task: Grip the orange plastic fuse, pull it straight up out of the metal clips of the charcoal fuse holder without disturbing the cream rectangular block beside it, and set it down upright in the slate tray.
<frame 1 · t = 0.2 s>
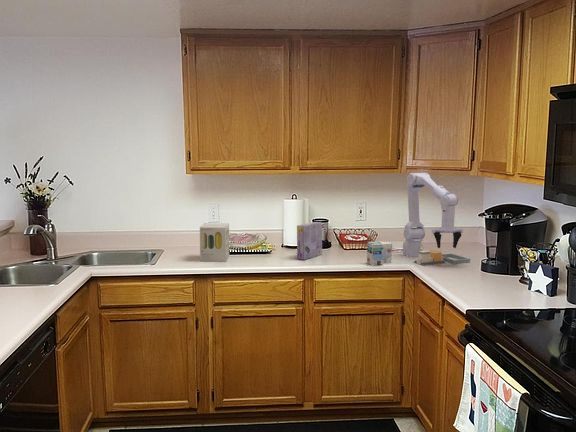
hand: (446, 247, 266), 10 cm above the worktop, tool pointing down, fingers open, 7 cm apart
supplement box: (215, 259, 283), on the worktop
light bulb box: (379, 264, 274), on the worktop
slate tray: (452, 262, 279), on the worktop
cake pan box: (310, 257, 290), on the worktop
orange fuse: (435, 262, 274), point 1 cm above the worktop, touching fuse holder
cream rectangular block: (423, 263, 271), point 1 cm above the worktop, touching fuse holder
fuse holder: (429, 264, 273), on the worktop
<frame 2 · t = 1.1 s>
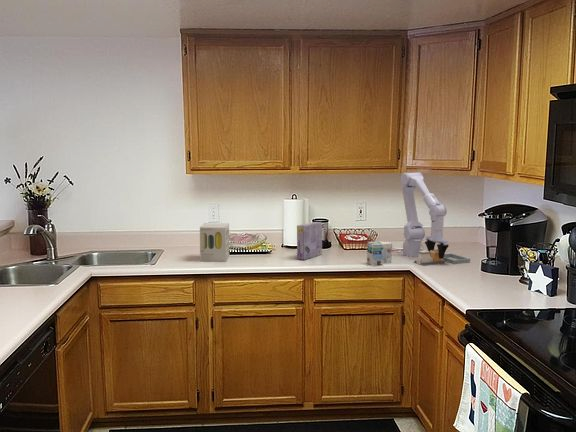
hand: (436, 256, 274), 4 cm above the worktop, tool pointing down, fingers open, 7 cm apart
nothing on the worktop moved.
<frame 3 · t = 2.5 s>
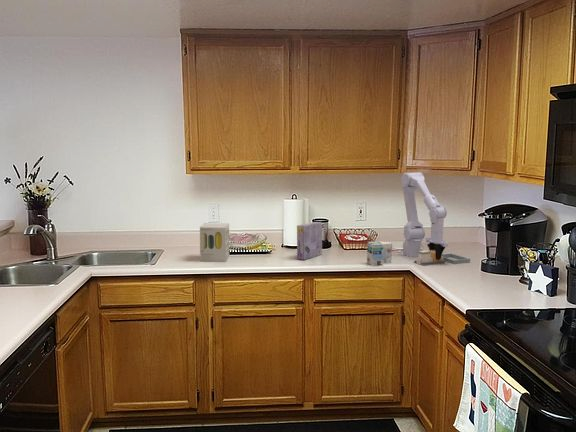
hand: (435, 258, 274), 3 cm above the worktop, tool pointing down, fingers closed on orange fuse, 3 cm apart
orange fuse: (435, 262, 274), point 1 cm above the worktop, touching fuse holder, gripper
everything else where it was.
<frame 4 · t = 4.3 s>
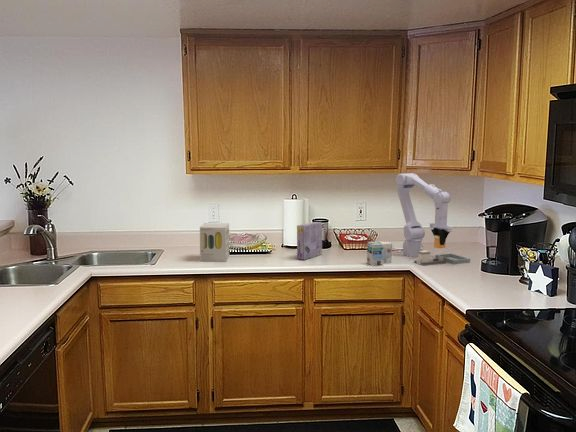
hand: (439, 244, 274), 10 cm above the worktop, tool pointing down, fingers closed on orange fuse, 3 cm apart
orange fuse: (439, 247, 274), point 8 cm above the worktop, touching gripper
everything else where it was.
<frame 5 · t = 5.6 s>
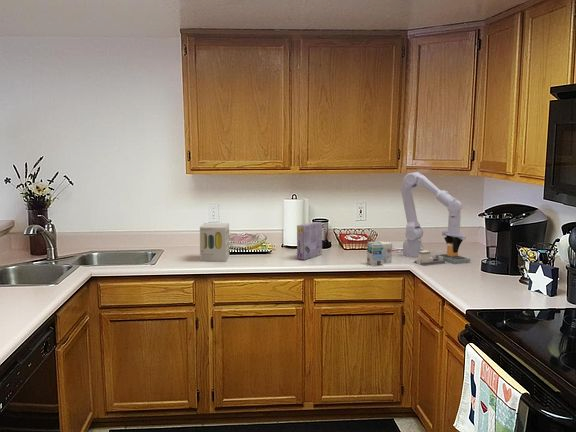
hand: (452, 251, 278), 5 cm above the worktop, tool pointing down, fingers closed on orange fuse, 3 cm apart
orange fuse: (452, 255, 278), point 4 cm above the worktop, touching gripper
everything else where it was.
when the fingers open (4 cm above the worktop, at t = 6.6 s): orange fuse drops 2 cm, resting on slate tray.
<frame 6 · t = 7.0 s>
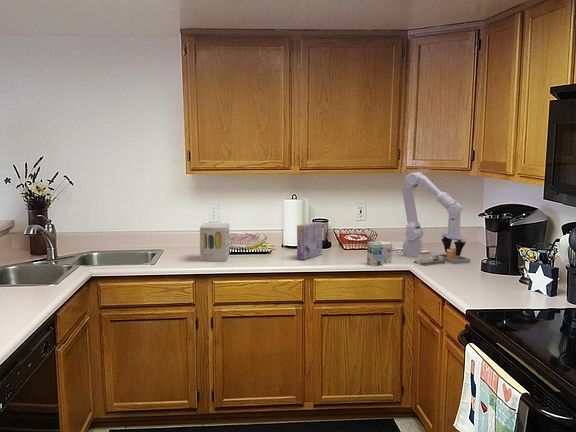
hand: (452, 254, 278), 4 cm above the worktop, tool pointing down, fingers open, 7 cm apart
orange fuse: (452, 260, 278), point 1 cm above the worktop, touching slate tray
everything else where it was.
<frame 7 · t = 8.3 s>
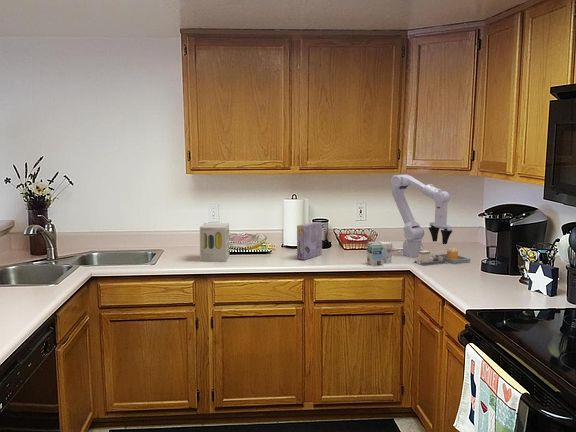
hand: (439, 242, 278), 10 cm above the worktop, tool pointing down, fingers open, 7 cm apart
nothing on the worktop moved.
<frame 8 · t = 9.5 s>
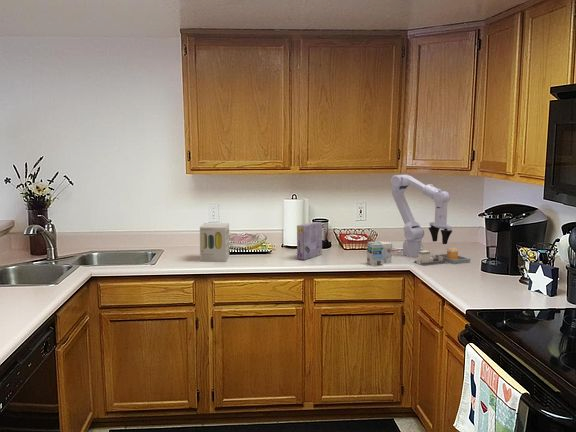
hand: (439, 242, 278), 10 cm above the worktop, tool pointing down, fingers open, 7 cm apart
nothing on the worktop moved.
at the end: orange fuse inside the target area on the slate tray (0.2 cm from its centre), point 0.8 cm above the slate tray's base; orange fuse tilted 0°; cream rectangular block moved 0.0 cm from its start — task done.
